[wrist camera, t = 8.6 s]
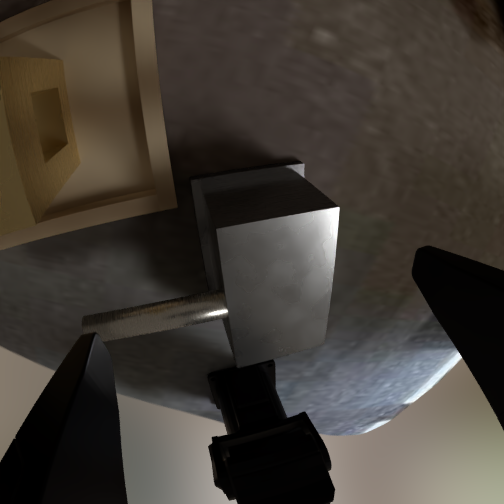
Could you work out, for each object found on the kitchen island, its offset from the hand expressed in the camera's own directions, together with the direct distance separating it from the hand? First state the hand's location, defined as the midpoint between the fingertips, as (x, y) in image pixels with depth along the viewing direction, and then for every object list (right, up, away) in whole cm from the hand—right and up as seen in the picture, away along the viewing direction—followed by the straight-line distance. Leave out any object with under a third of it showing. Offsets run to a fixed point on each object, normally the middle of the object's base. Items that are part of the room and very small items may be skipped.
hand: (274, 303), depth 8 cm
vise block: (-4, +1, +14) cm, 14 cm away
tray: (-12, +9, +6) cm, 16 cm away
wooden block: (-12, +8, +5) cm, 15 cm away
